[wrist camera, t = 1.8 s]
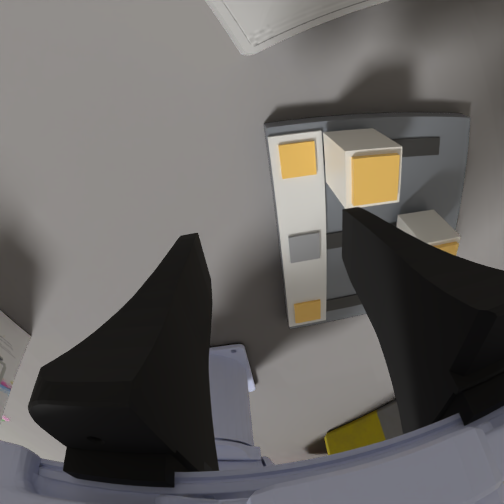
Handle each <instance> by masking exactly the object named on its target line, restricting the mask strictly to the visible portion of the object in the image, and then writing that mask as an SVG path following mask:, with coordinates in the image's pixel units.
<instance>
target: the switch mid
mask: <svg viewBox="0 0 504 504" xmlns="http://www.w3.org/2000/svg"><path fill="white" fill-rule="evenodd" d="M397 228H399V229H401V230H402V231H404V232H406V233H408V234H410V235H412V236H414V237H416V238H417V239H419V240H421V241H423V242H425V243H427V244H429V245H432V246H434V247H436V248H438V249H441V250H443V251H445V252H448V253H450V254H452V255H455V256H456V254H457V250H458V246H459V242H460V238H461V236H460V235H459V234H458V233H457V232H456V231H455V230H454V229H453V228H452V227H451V226H450V225H449V224H448V223H447V222H446V221H445V220H444V219H443V218H442V217H441V216H440V215H439V214H438V213H437V212H436V211H435V210H427V211H420V212H414V213H407V214H400V215H398V217H397Z"/></svg>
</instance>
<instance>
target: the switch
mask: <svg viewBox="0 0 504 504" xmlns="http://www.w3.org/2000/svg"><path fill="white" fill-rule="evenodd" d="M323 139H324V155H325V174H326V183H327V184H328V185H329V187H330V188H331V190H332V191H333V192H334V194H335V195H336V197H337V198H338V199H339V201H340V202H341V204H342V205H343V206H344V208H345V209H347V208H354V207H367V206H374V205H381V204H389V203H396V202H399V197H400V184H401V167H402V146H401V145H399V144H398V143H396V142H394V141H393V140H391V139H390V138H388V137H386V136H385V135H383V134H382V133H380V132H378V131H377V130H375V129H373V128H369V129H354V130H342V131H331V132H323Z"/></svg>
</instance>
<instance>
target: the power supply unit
mask: <svg viewBox="0 0 504 504" xmlns="http://www.w3.org/2000/svg"><path fill="white" fill-rule="evenodd" d="M205 1H206V3H207V4H208V5H209V7H210V8H211V10H212V11H213V13H214V14H215V16H216V17H217V19H218V20H219V22H220V23H221V25H222V26H223V27H224V29H225V31H226V32H227V34H228V35H229V37H230V38H231V40H232V41H233V43H234V44H235V46H236V47H237V49H238V51H239V52H240V54H241V55H254V54H256V53H258V52H260V51H262V50H264V49H266V48H268V47H270V46H272V45H274V44H277V43H279V42H281V41H283V40H285V39H287V38H290V37H292V36H294V35H296V34H299V33H301V32H303V31H305V30H308V29H310V28H313V27H315V26H318V25H320V24H323V23H325V22H328V21H330V20H333V19H335V18H338V17H341V16H344V15H346V14H349V13H352V12H355V11H358V10H361V9H364V8H367V7H370V6H373V5H376V4H380V3H383V2H386V1H390V0H205Z"/></svg>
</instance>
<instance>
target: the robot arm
mask: <svg viewBox="0 0 504 504" xmlns="http://www.w3.org/2000/svg"><path fill="white" fill-rule="evenodd" d="M342 260H343V262H344V265H345V268H346V271H347V274H348V276H349V279H350V282H351V284H352V286H353V288H354V290H355V291H356V293H357V295H358V297H359V299H360V301H361V303H362V305H363V307H364V309H365V311H366V313H367V315H368V317H369V319H370V321H371V323H372V325H373V327H374V330H375V332H376V334H377V337H378V339H379V342H380V345H381V348H382V351H383V354H384V357H385V360H386V364H387V367H388V370H389V374H390V377H391V381H392V385H393V389H394V393H395V397H396V401H397V405H398V410H399V415H400V420H401V426H402V431H403V435H400V436H397V437H394V438H391V439H388V440H384V441H381V442H378V443H374V444H371V445H367V446H364V447H360V448H356V449H353V450H349V451H345V452H340V453H336V454H332V455H327V456H323V457H318V458H313V459H308V460H302V461H297V462H291V463H285V464H278V465H275V464H274V463H273V462H272V461H271V460H270V459H269V458H268V457H265V456H264V457H261V452H260V447H254V441H253V432H252V422H251V412H250V401H249V392H250V391H254V390H255V383H254V379H253V376H252V372H251V368H250V365H249V361H248V357H247V353H246V350H245V346H244V345H242V344H234V345H227V346H220V347H212V348H209V347H210V332H211V318H212V289H211V278H210V275H209V271H208V268H207V264H206V260H205V257H204V253H203V250H202V246H201V242H200V239H199V235H198V233H194V234H188V235H183V236H180V237H179V238H178V240H177V241H176V242H175V244H174V245H173V247H172V248H171V249H170V251H169V252H168V253H167V255H166V256H165V258H164V259H163V260H162V262H161V263H160V264H159V266H158V267H157V268H156V270H155V271H154V272H153V273H152V275H151V276H150V277H149V278H148V279H147V281H146V282H145V283H144V284H143V286H142V287H141V288H140V289H139V290H138V291H137V293H136V294H135V295H134V296H133V297H132V298H131V299H130V300H129V301H128V302H127V303H126V304H125V305H124V306H123V307H122V308H121V309H120V310H119V311H118V312H117V313H116V314H115V315H114V316H112V317H111V318H110V319H109V320H108V321H107V322H106V323H104V324H103V325H102V326H101V327H100V328H99V329H98V330H96V331H95V332H94V333H93V334H91V335H90V336H89V337H87V338H86V339H85V340H83V341H82V342H81V343H79V344H78V345H76V346H75V347H74V348H72V349H71V350H69V351H68V352H66V353H64V354H63V355H61V356H59V357H58V358H56V359H55V360H53V361H51V362H50V363H48V364H46V365H45V366H43V367H41V369H40V371H39V374H38V377H37V380H36V383H35V386H34V389H33V392H32V395H31V398H30V402H29V405H28V410H29V413H30V415H31V417H32V418H33V420H34V421H35V422H36V423H37V424H38V425H39V426H40V427H41V428H42V429H44V430H45V431H46V432H47V433H49V434H50V435H51V436H53V437H54V438H55V439H57V440H58V441H59V442H61V443H62V444H63V445H65V446H66V447H67V449H66V455H65V460H64V463H63V462H57V461H52V460H47V459H42V458H40V457H39V456H38V455H37V454H35V453H34V452H32V451H31V450H29V449H27V448H25V447H23V446H20V445H17V444H13V443H9V442H5V441H1V440H0V504H504V485H503V481H504V271H503V270H499V269H495V268H491V267H488V266H484V265H481V264H478V263H475V262H472V261H469V260H466V259H463V258H460V257H458V256H455V255H452V254H450V253H448V252H445V251H443V250H441V249H438V248H436V247H434V246H432V245H429V244H427V243H425V242H423V241H421V240H419V239H417V238H416V237H414V236H412V235H410V234H408V233H406V232H404V231H402V230H401V229H399V228H397V227H395V226H394V225H392V224H390V223H388V222H386V221H385V220H383V219H381V218H380V217H378V216H376V215H374V214H372V213H371V212H369V211H367V210H365V209H363V208H361V207H354V208H347V209H342ZM233 349H234V350H233Z"/></svg>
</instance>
